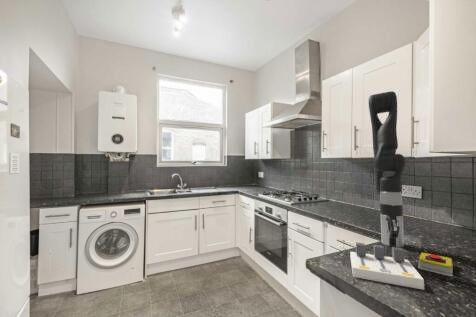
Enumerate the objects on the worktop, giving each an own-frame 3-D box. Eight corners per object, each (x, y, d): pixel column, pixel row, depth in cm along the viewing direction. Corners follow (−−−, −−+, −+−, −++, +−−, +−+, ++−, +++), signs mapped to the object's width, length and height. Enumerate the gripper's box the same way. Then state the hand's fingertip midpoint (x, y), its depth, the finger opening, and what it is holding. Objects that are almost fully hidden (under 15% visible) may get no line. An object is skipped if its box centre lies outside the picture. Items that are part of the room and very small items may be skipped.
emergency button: (417, 257, 81) (421, 247, 91) (417, 269, 80) (421, 258, 91) (452, 264, 74) (452, 253, 85) (452, 278, 74) (452, 265, 85)
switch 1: (356, 252, 86) (355, 242, 86) (364, 253, 85) (364, 243, 85) (356, 255, 84) (356, 244, 84) (365, 256, 82) (365, 245, 83)
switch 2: (373, 255, 84) (373, 244, 84) (383, 256, 82) (382, 245, 83) (374, 257, 81) (374, 246, 81) (384, 259, 80) (384, 248, 80)
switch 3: (392, 257, 81) (392, 246, 81) (402, 259, 80) (401, 247, 80) (394, 260, 78) (393, 249, 79) (404, 262, 77) (404, 250, 78)
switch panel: (350, 259, 89) (350, 251, 89) (407, 267, 81) (407, 259, 81) (353, 276, 73) (352, 267, 73) (424, 289, 65) (423, 279, 65)
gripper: (377, 200, 95) (378, 241, 94) (382, 204, 83) (384, 250, 82) (398, 202, 92) (400, 243, 91) (406, 205, 80) (409, 253, 79)
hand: (392, 247), depth 86 cm, fingers closed
